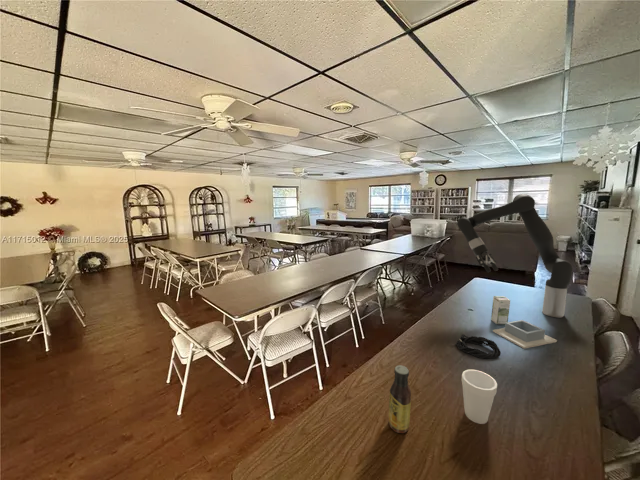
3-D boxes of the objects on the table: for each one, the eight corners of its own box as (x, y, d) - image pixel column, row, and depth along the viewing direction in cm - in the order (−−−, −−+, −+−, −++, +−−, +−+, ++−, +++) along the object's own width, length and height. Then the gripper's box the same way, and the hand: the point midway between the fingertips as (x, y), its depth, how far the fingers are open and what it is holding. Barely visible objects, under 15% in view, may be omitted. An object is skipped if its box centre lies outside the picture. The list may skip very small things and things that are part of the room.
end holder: (523, 326, 138) (524, 316, 137) (556, 342, 122) (558, 331, 122) (493, 331, 133) (493, 321, 132) (524, 348, 118) (525, 337, 117)
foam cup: (480, 432, 77) (483, 394, 74) (453, 409, 85) (455, 374, 83) (500, 421, 80) (504, 384, 78) (472, 400, 89) (475, 366, 87)
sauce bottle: (385, 418, 82) (386, 362, 79) (404, 416, 83) (406, 360, 80) (392, 436, 76) (394, 376, 73) (413, 434, 76) (415, 374, 73)
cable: (504, 352, 116) (505, 343, 115) (494, 366, 107) (495, 356, 106) (463, 337, 128) (464, 329, 128) (451, 348, 120) (452, 340, 119)
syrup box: (501, 320, 145) (503, 295, 143) (508, 325, 139) (510, 299, 137) (490, 319, 146) (493, 295, 143) (496, 324, 140) (499, 299, 138)
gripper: (477, 244, 149) (493, 269, 143) (489, 243, 157) (505, 267, 150) (466, 250, 155) (480, 275, 148) (478, 248, 162) (493, 272, 156)
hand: (493, 271), depth 149 cm, fingers open, 8 cm apart
